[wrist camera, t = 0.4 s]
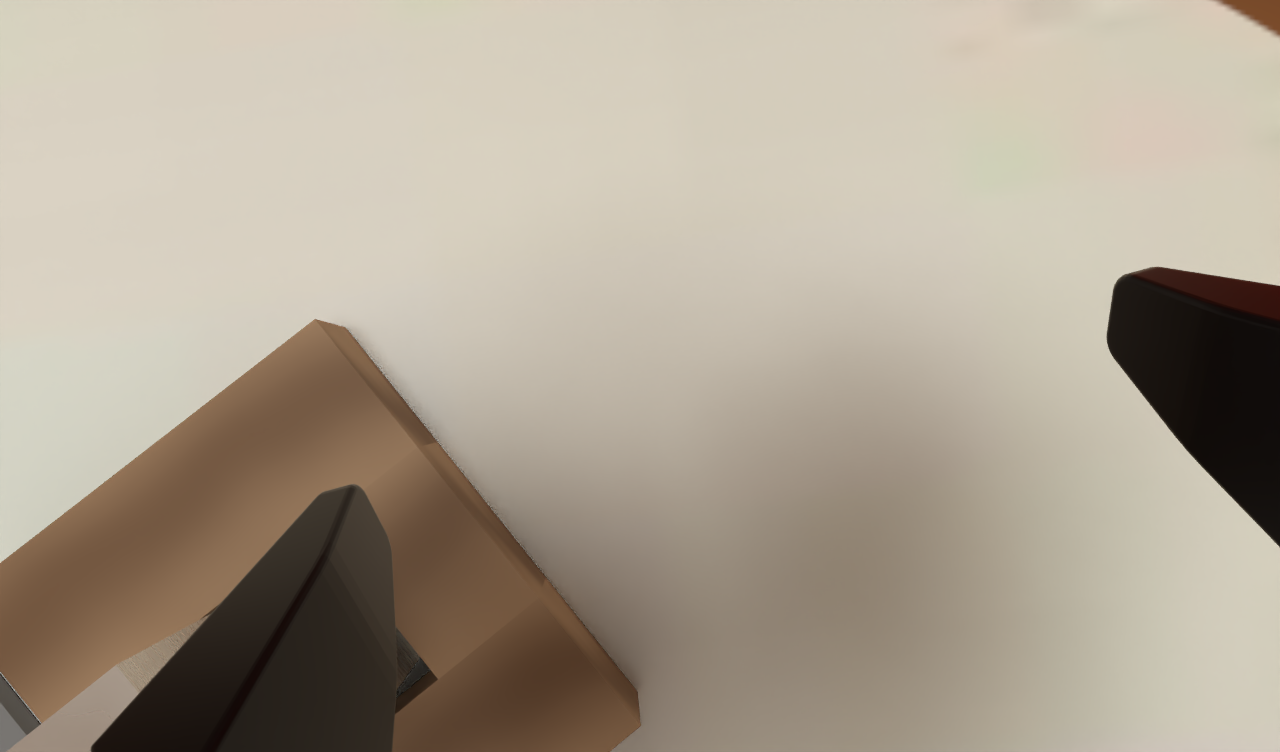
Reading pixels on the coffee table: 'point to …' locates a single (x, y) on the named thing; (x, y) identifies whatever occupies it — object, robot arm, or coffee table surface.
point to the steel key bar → (131, 696)
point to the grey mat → (13, 718)
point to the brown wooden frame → (258, 516)
